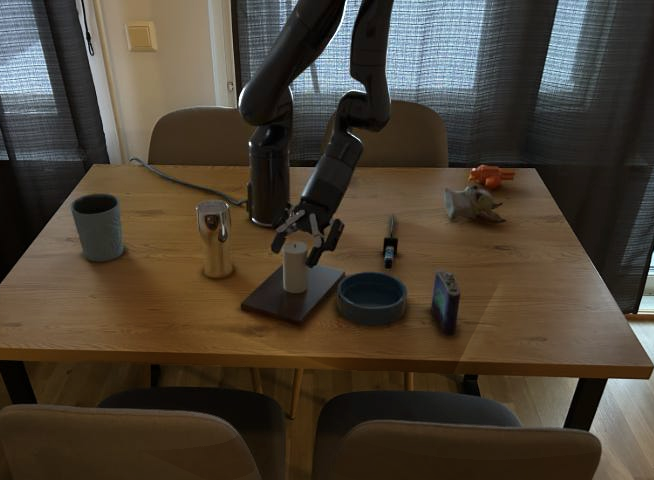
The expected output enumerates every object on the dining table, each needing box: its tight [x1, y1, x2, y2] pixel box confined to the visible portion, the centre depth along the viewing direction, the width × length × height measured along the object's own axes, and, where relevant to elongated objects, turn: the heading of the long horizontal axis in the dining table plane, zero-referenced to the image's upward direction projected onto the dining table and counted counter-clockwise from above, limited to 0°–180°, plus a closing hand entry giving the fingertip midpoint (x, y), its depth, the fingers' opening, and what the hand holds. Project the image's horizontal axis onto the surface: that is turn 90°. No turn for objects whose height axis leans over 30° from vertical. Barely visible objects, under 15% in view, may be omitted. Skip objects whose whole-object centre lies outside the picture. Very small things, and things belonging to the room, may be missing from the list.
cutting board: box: [240, 263, 346, 327], centre depth 129 cm, size 13×20×2 cm, turn 152°
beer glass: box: [195, 199, 234, 279], centre depth 132 cm, size 7×7×15 cm
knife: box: [382, 213, 399, 270], centre depth 143 cm, size 31×3×4 cm, turn 167°
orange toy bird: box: [467, 164, 516, 190], centre depth 170 cm, size 5×8×12 cm
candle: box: [282, 241, 309, 293], centre depth 125 cm, size 5×5×10 cm
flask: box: [430, 269, 461, 336], centre depth 117 cm, size 9×3×11 cm, turn 8°
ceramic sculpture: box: [443, 184, 507, 225], centre depth 154 cm, size 11×9×15 cm
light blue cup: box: [70, 193, 124, 262], centre depth 140 cm, size 10×10×12 cm
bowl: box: [336, 271, 408, 326], centre depth 124 cm, size 13×13×4 cm
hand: (291, 259), depth 124 cm, fingers open, 8 cm apart
